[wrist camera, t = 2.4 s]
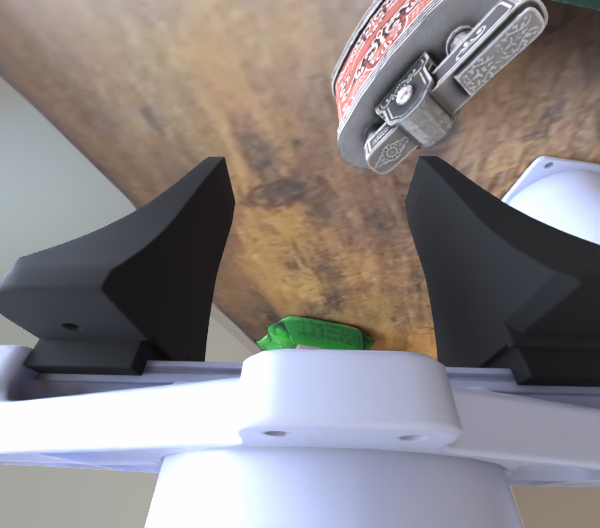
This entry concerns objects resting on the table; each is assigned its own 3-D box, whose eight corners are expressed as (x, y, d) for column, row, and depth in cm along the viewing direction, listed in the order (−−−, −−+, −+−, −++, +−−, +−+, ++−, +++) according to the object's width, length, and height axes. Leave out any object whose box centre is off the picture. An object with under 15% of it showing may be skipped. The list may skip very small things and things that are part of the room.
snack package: (269, 303, 38) (264, 341, 34) (376, 325, 41) (381, 362, 38) (257, 326, 43) (252, 361, 40) (352, 345, 47) (355, 378, 43)
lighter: (358, 115, 19) (381, 215, 13) (318, 81, 18) (321, 175, 11) (476, -23, 14) (611, 30, 8) (433, -87, 13) (556, -87, 6)
